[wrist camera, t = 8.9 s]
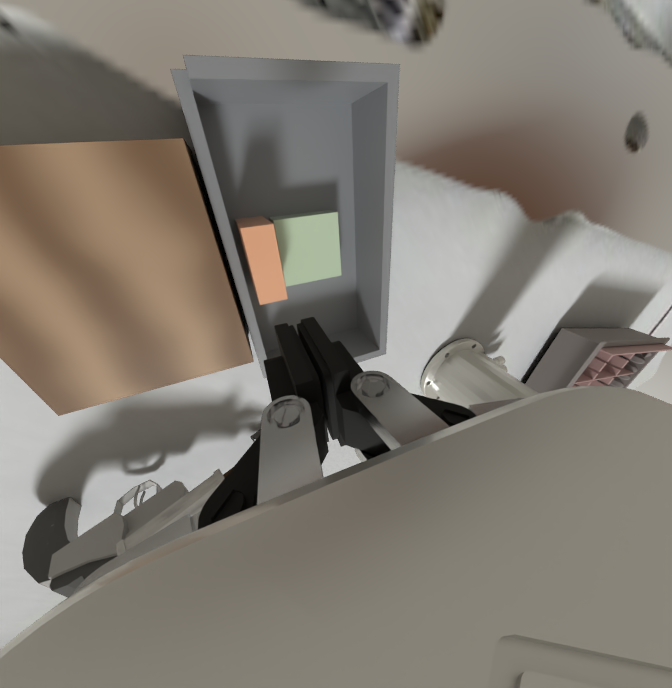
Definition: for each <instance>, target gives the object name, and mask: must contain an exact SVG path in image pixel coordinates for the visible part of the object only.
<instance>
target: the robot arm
mask: <svg viewBox="0 0 672 688" xmlns="http://www.w3.org/2000/svg"><path fill="white" fill-rule="evenodd" d="M274 329H275V333H276V337H277V341H278V345H279V350H280V354H281V356H278V357H274V358H270V359H267V360H263V361H264V366H265V371H266V375H267V380H268V384H269V389H270V393H271V398H272V402H271V403H270V404H269V405H268V406H267V407H266V408H265V410H264V411H263V414H262V420H261V434H260V436H259V437H258V438H257V439H256V441H255V442H254V443H253V444H252V445H251V447H250V448H249V449H248V450H247V452H246V453H245V454H244V455H243V456H242V458H241V459H240V460H239V461H238V463H237V464H236V465H235V466H234V468H233V469H232V470H231V471H230V472H229V474H228V475H227V476H226V477H225V479H224V480H223V481H222V482H221V483H220V485H219V486H218V487H217V488H216V490H215V491H214V492H213V493H212V495H211V496H210V497H209V498H208V500H207V501H206V503H205V504H204V506H203V507H202V510H201V511H200V512H198V513H196V514H195V515H193V516H191V515H190V514H189V513H188V514H187V515H185V516H183V517H182V518H180V519H178V520H177V521H175V522H173V523H172V524H170V525H168V526H167V527H165V528H163V529H162V530H160V531H159V532H157V533H155V534H154V535H152V536H150V537H149V538H147V539H145V540H144V541H142V542H140V543H139V544H137V545H135V546H134V547H132V548H130V549H129V550H127V551H125V552H124V553H122V554H120V555H119V556H117V557H115V558H114V559H112V560H110V561H109V562H107V563H105V564H104V565H102V566H101V567H99V568H98V569H97V570H95V571H94V572H93V573H91V574H90V575H89V576H88V577H87V578H86V579H85V580H84V581H83V582H82V583H81V584H80V585H79V586H78V588H77V589H76V590H75V591H74V593H73V594H72V596H70V597H69V598H67V599H65V600H64V601H62V602H61V603H59V604H58V605H57V606H55V607H54V608H53V609H51V610H50V611H49V612H47V613H46V614H45V615H43V616H42V617H41V618H39V619H38V620H37V621H35V622H34V623H33V624H31V625H30V626H29V627H27V628H26V629H25V630H23V631H22V632H21V633H19V634H18V635H17V636H16V637H14V638H13V639H12V640H11V641H10V642H9V643H7V644H6V645H5V646H4V647H3V648H1V649H0V688H672V405H671V404H669V403H666V402H664V401H662V400H659V399H657V398H654V397H652V396H649V395H647V394H644V393H642V392H639V391H636V390H632V389H627V388H621V387H612V386H578V387H570V388H563V389H557V390H553V391H549V392H544V393H540V394H539V393H538V392H536V391H535V390H533V389H532V388H530V387H528V386H527V385H525V384H524V383H522V382H521V381H519V380H518V379H516V378H515V377H513V376H512V375H510V374H508V373H507V368H506V366H505V365H503V363H505V359H504V357H502V356H498V357H496V358H493V359H491V358H489V357H488V356H486V355H485V354H484V348H483V346H482V345H481V344H480V343H478V342H477V341H475V340H473V339H468V338H466V339H460V340H457V341H454V342H452V343H450V344H449V345H447V346H446V347H444V348H443V349H442V350H440V351H439V352H438V353H437V354H436V355H435V356H434V357H433V358H432V360H431V361H430V362H429V364H428V365H427V367H426V369H425V371H424V373H423V376H422V380H421V390H422V392H423V394H424V395H425V396H426V397H424V396H420V395H416V394H411V393H409V392H408V391H407V390H406V389H405V388H403V387H402V386H401V385H400V384H399V383H397V382H396V381H395V380H394V379H393V378H391V377H390V376H389V375H387V374H385V373H382V372H379V371H366V372H363V370H362V369H361V368H360V366H359V365H358V364H357V362H356V361H355V360H354V358H353V357H352V356H351V354H350V353H349V352H348V350H347V349H346V348H345V346H344V345H343V344H342V343H341V342H340V341H335V342H331V341H330V340H329V338H328V337H327V335H326V334H325V332H324V331H323V329H322V328H321V327H320V325H319V324H318V322H317V321H316V319H315V318H314V317H310V318H305V319H301V323H299V324H297V331H298V334H297V332H296V330H295V328H294V326H293V325H290V326H288V324H287V323H284V324H279V325H275V326H274ZM327 428H328V430H329V433H330V435H331V437H332V439H333V440H334V439H338V441H339V443H340V445H341V446H344V445H348V446H350V447H353V448H355V452H356V454H357V456H358V458H359V459H360V460H361V463H359V464H356V465H354V466H351V467H349V468H347V469H344V470H342V471H339V472H337V473H334V474H332V475H329V476H327V477H323V472H322V466H321V465H322V463H323V461H324V459H325V457H326V455H327V453H328V445H327V442H329V438H328V432H327Z"/></svg>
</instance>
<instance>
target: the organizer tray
mask: <svg viewBox="0 0 672 688" xmlns="http://www.w3.org/2000/svg"><path fill="white" fill-rule="evenodd" d="M669 340H670V338H656V337H653V336H650V335H647V334H644V333H641V332H639V331H636V330H633V329H630V328H562V329H561V330H560V332H559V333H558V335H557V336H556V338H555V339H554V341H553V342H552V344H551V345H550V347H549V348H548V350H547V351H546V353H545V354H544V356H543V357H542V359H541V361H540V362H539V364H538V365H537V367H536V368H535V370H534V371H533V373H532V374H531V376H530V377H529V379H528V380H527V382H526V383H525V385H527V386H528V387H530V388H532V389H533V390H535V391H536V392H538V393H539V394H540V393H544V392H549V391H553V390H557V389H563V388H570V387H578V386H612V387H621V388H627V386H628V385H629V384H630V383H631V382H632V381H633V380H634V379H635V378H636V376H637V375H638V374H639V373H640V372H641V371H642V370H643V369H644V368H645V366H646V365H647V364H648V363H649V362H650V361H651V360H652V359H653V358H654V356H655V355H656V354H657V353H658V352H659V351H667V350H672V347H670V346H667V345H665V344H666V343H667V342H668V341H669Z"/></svg>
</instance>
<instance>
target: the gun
mask: <svg viewBox="0 0 672 688" xmlns="http://www.w3.org/2000/svg"><path fill="white" fill-rule="evenodd" d="M260 434H261V430H259V431H258V432H256V433H255V434H253V435H252V436H251V439H252V440H253V441H254V439H257V438H258V437H259V436H260ZM254 442H255V441H254ZM233 468H234V467H233ZM233 468H232V469H233ZM232 469H230V470H229V471H228V472H226V473H225V474H224V475H222V473H221V471H220V470H219V469H218V470H216V471H215V472H213V473H214V474H213V475H212V476H211V477H209V478H208V479H207V480H205V481H204V482H202V483H201V484H200V485H198V486H197V487H196V488H194V489H193V490H191V491H190V492H188V490H187V489H186V487H185V486H184V485H183V483H182V482H179V481H174V482H173V483H171V484H170V485H168V486H167V487H165V488H164V489H163V490H162V488H161V487H160V486H159V485H158V484H157V483H155V482H153V481H151V480H148V481H146V482H144V483H142V484H140V485H138V486H136V487H134V488H132V489H131V490H130V491H129V492H127V493H126V494H125V495H124V496H123V497H121V498H120V499H119V500H118V501H117V503H116V507H115V510H114V513H113V514H112V515H111V516H109V517H108V518H106V519H105V520H103V521H102V522H100V523H99V524H97V525H96V526H94V527H93V528H91V529H90V530H88V531H87V532H85V533H84V534H82V535H81V536H79V537H78V535H77V531H78V518H79V514H80V510H81V505H79V504H78V503H77V502H75V501H74V500H73V499H71V498H70V497H69V498H66V499H64V500H61V501H58V502H55V503H53V504H51V505H49V506H47V507H46V508H45V509H44V510H43V511H42V512H41V513H40V514H39V515H38V516H37V517H36V519H35V520H34V522H33V524H32V526H31V527H30V529H29V531H28V532H27V534H26V538H25V542H24V547H23V552H22V554H23V563H24V569H25V570H26V571H27V572H28V573H29V574H30V575H31V576H32V577H33V578H34V579H35V580H36V581H37V582H38V583H39V584H41V585H43V586H46V587H48V588H50V589H51V590H52V591H54V592H56V593H59V594H61V595H63V596H66V597H68V598H69V597H70V596H72V594H73V593H74V591H75V590H76V589H77V588H78V586H79V585H80V584H81V583H82V582H83V581H84V580H85V579H86V578H87V577H88V576H89V575H90V574H91V573H93V572H94V571H95V570H97V569H98V568H99V567H101V566H102V565H104V564H105V563H107V562H109V561H110V560H112V559H114V558H115V557H117V556H119V555H120V554H122V553H124V552H125V551H127V550H129V549H130V548H132V547H134V546H135V545H137V544H139V543H140V542H142V541H144V540H145V539H147V538H149V537H150V536H152V535H154V534H155V533H157V532H159V531H160V530H162V529H163V528H165V527H167V526H168V525H170V524H172V523H173V522H175V521H177V520H178V519H180V518H182V517H183V516H185V515H187V514H188V513H189V514H190V515H191V516H193V515H195V514H196V513H198V512H200V511H201V510H202V507H203V506H204V504H205V503H206V501H207V500H208V498H209V497H210V496H211V495H212V493H213V492H214V491H215V490H216V488H217V487H218V486H219V485H220V483H221V482H222V481H223V480H224V479H225V477H226V476H227V475H228V474H229V472H230V471H231V470H232ZM152 486H156V487H157V493H156V494H155V495H154V496H152V497H151V498H149V499H148V500H146V501H145V502H144V503H142V502H143V497H144V495H145V491H144V492H143V494H142V496H141V499H140V503H139V506H137V495H138V493H139V492H141V491H143V490H145V489H148V488H150V487H152ZM134 496H135V497H134ZM133 497H134V506H135V509H133V510H132V511H130V512H129V513H128V514H126V515H125V516H122V515H121V512H122V508H123V506H124V505H125V504H126V503H127V502H128V501H129V500H131V499H132V498H133Z"/></svg>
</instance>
